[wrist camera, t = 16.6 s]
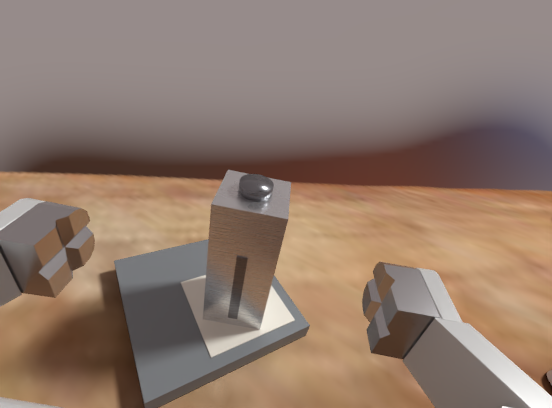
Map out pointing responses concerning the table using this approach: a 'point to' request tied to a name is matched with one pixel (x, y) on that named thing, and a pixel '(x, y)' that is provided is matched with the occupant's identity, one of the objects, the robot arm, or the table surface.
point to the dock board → (191, 324)
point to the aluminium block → (244, 247)
